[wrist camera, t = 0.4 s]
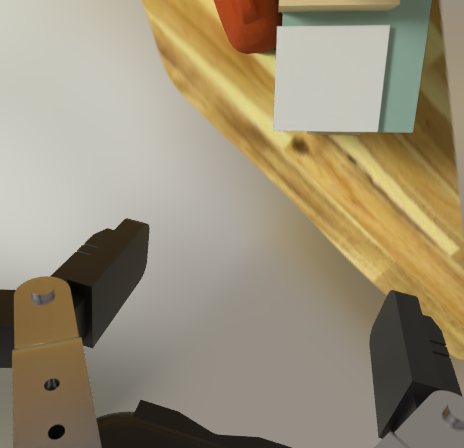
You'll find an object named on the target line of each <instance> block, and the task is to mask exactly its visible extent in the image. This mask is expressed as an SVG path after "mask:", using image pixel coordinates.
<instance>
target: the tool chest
mask: <svg viewBox="0 0 464 448" xmlns="http://www.w3.org/2000/svg"><path fill="white" fill-rule="evenodd" d="M431 4H432V0H279V12H283V16H282V26H277V44H276V73H275V102H274V131H307V134H312V135H361V132H402V133H413V129H414V122H415V115H416V108H417V101H418V94H419V87H420V80H421V73H422V66H423V59H424V53H425V46H426V39H427V32H428V25H429V18H430V11H431Z"/></svg>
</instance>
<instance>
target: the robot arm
mask: <svg viewBox="0 0 464 448" xmlns="http://www.w3.org/2000/svg"><path fill="white" fill-rule="evenodd" d="M148 241H149V225H148V224H146V223H143V222H139V221H135V220H131V219H128V218H127V219H125V220H124V221H123V222H122V223H121V224H120V225H119V226H118V227H117V228H116V229H115V230H111V229H108V228H107V229H105V230H103V231H100V232H98V233H96V234H94V235H93V236H92V237H91V238H90V239H89V240H87V241H86V243H85V245H82V246H81V247H80V248H79V249H78V250H77V252H75V253H74V254H73V255H72V256H71V257H70V258H69V259H68V260H67V261H66V262H65V263H64V264H63V265H62V266H61V267H60V268H59V269H58V270H56V271H55V272H54V273H53V274H52V275H51V276H50V277H38V278H34V279H31V280H28V281H26V282H24V283H23V284H21V285H20V286H19V287H18V288H17V290H0V368H12V389H13V390H12V397H13V448H291V447H288V446H285V445H282V444H279V443H275V442H272V441H269V440H266V439H263V438H260V437H246V436H228V435H217V434H214V433H212V432H210V431H209V430H207V429H205V428H204V427H202V426H201V425H199V424H197V423H196V422H194V421H193V420H191V419H189V418H188V417H186V416H185V415H183V414H181V413H180V412H178V411H175V410H171V409H168V408H165V407H162V406H159V405H156V404H153V403H149V402H146V401H143V400H140V402H139V405H138V407H137V408H136V411H135V412H118V413H112V414H107V415H104V416H101V417H98V418H96V414H95V408H94V403H93V397H92V392H91V387H90V381H89V376H88V370H87V365H86V359H85V354H84V349H83V346H87V347H90V348H93V347H94V346H95V344H96V343H97V341H98V340H99V338H100V337H101V336H102V334H103V333H104V331H105V330H106V328H107V327H108V326H109V324H110V323H111V321H112V320H113V318H114V317H115V316H116V314H117V313H118V311H119V310H120V308H121V307H122V305H123V304H124V303H125V301H126V300H127V298H128V297H129V296H130V294H131V293H132V291H133V290H134V288H135V287H136V285H137V284H138V283H139V281H140V280H141V278H142V276H143V274H144V271H145V268H146V264H147V253H148ZM445 345H446V343H445V340H444V337H443V334H442V331H441V330H440V328H439V327H438V326H437V324H436V323H435V322H434V321H433V319H432V318H431V317H429V316H425V315H422V311H421V308H420V304H419V300H418V298H417V297H416V296H413V295H409V294H405V293H401V292H398V291H394V290H391V291H390V292H389V293H388V295H387V297H386V299H385V301H384V304H383V306H382V308H381V310H380V312H379V314H378V316H377V318H376V320H375V323H374V325H373V327H372V330H371V335H370V353H371V364H372V373H373V384H374V395H375V405H376V415H377V424H378V436H379V438H382V440H381V441H380V442H379V443H378V444H377V445H376V446H375V448H464V398H463V397H462V393H461V391H460V387H459V384H458V381H457V378H456V375H455V371H454V368H453V365H452V362H451V359H450V358H449V353H448V350H447V347H445Z"/></svg>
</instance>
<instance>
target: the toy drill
mask: <svg viewBox="0 0 464 448" xmlns="http://www.w3.org/2000/svg"><path fill="white" fill-rule="evenodd" d="M214 2H215V5H216V8H217V11H218V14H219V17H220V20H221V22H222V25H223V27H224V30H225V32H226V34H227V37H228V39H229V42H230V43H231V44H232V46H233V47H234V48H235V49H236V50H238V51H239V52H242V53H246V54H250V53H263V52H267V51H270V50H272V49H274V48H275V47H276V44H277V26H282V16H283V12H279V0H214Z"/></svg>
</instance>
